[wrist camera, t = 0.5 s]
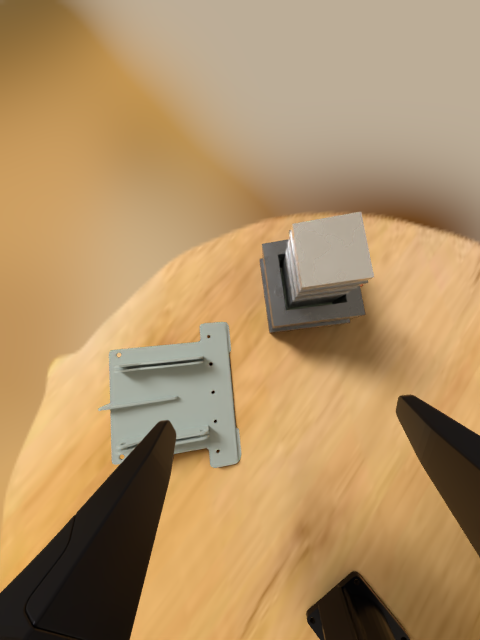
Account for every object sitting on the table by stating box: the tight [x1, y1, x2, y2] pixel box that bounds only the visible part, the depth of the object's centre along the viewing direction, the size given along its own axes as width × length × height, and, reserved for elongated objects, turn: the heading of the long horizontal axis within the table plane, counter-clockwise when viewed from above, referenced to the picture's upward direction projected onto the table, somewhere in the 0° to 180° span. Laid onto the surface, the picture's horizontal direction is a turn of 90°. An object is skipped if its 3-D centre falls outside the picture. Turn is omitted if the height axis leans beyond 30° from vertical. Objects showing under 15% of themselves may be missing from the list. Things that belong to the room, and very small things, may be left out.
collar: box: [260, 240, 365, 333], centre depth 20 cm, size 8×8×6 cm
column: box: [280, 212, 374, 311], centre depth 17 cm, size 4×4×9 cm
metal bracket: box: [98, 322, 241, 468], centre depth 23 cm, size 14×6×15 cm
